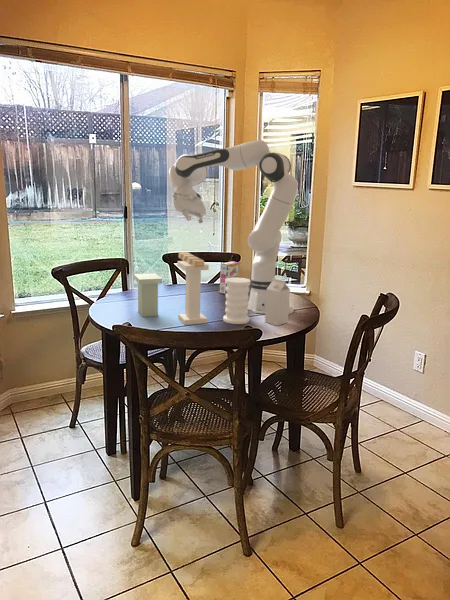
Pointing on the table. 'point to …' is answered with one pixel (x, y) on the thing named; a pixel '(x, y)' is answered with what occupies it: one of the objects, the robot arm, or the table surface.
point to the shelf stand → (192, 294)
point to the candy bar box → (227, 274)
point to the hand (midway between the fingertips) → (195, 221)
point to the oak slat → (191, 259)
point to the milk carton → (277, 302)
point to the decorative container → (237, 300)
